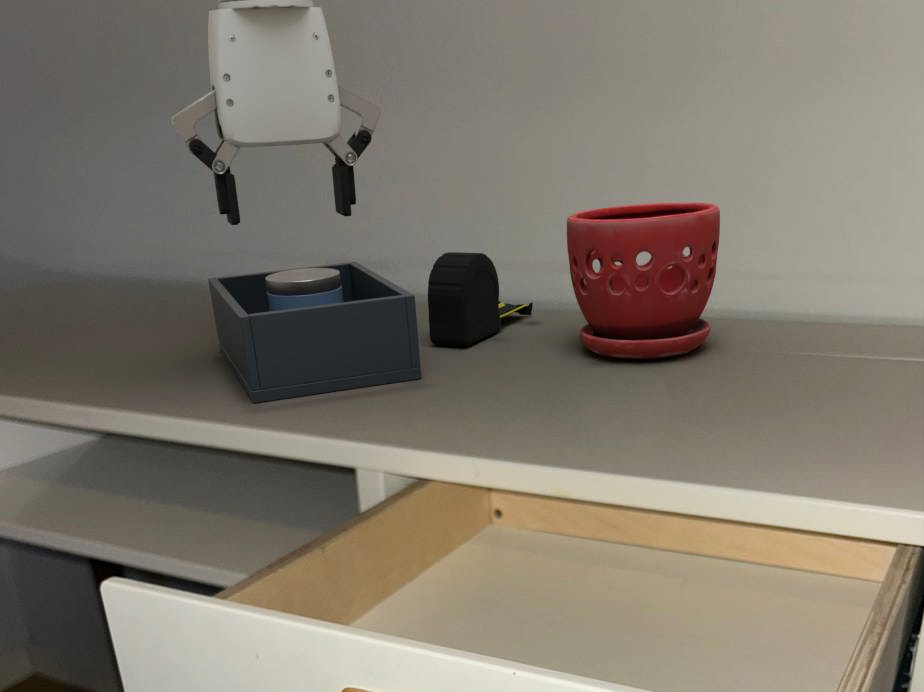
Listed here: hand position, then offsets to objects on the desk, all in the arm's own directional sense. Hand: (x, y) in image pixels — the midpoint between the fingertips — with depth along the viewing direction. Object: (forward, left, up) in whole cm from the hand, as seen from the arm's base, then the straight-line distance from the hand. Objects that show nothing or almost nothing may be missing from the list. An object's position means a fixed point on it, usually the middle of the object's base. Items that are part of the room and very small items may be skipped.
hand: (289, 218), depth 93 cm
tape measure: (+18, +4, -13) cm, 23 cm away
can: (0, 0, -12) cm, 12 cm away
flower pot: (+28, -11, -13) cm, 33 cm away
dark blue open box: (0, 0, -13) cm, 13 cm away
